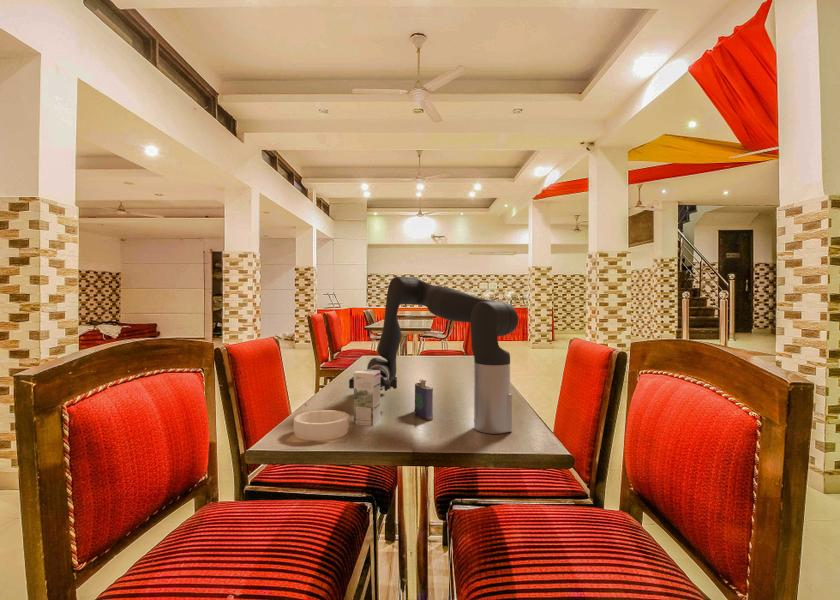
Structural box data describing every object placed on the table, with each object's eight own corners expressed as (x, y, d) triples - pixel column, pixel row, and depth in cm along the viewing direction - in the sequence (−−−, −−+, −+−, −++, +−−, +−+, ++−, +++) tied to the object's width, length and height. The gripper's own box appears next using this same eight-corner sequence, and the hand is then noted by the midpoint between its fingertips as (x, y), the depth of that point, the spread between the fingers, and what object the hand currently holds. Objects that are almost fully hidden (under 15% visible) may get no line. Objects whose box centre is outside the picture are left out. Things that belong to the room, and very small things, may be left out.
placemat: (354, 427, 117) (354, 425, 117) (345, 444, 103) (345, 442, 103) (301, 427, 117) (301, 424, 117) (284, 444, 103) (284, 441, 103)
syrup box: (381, 422, 122) (381, 369, 122) (373, 428, 117) (373, 372, 117) (361, 420, 124) (361, 368, 124) (352, 426, 118) (353, 371, 118)
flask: (434, 420, 125) (434, 381, 124) (425, 421, 123) (424, 382, 123) (420, 412, 133) (420, 376, 133) (411, 413, 132) (411, 377, 132)
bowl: (352, 425, 117) (352, 410, 117) (343, 441, 104) (343, 424, 104) (302, 425, 117) (302, 410, 117) (287, 441, 104) (287, 424, 104)
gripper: (354, 365, 144) (346, 374, 128) (399, 366, 144) (395, 374, 128) (354, 389, 144) (346, 400, 128) (398, 389, 144) (395, 400, 128)
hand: (370, 387), depth 128 cm, fingers open, 8 cm apart
